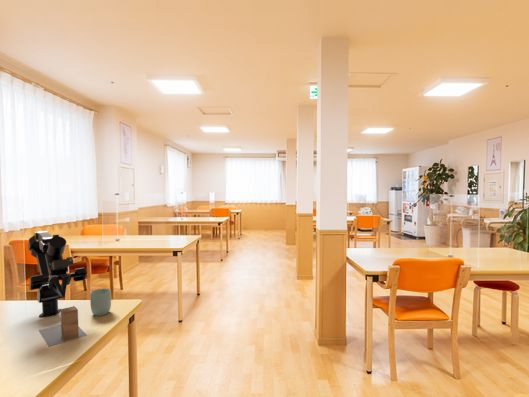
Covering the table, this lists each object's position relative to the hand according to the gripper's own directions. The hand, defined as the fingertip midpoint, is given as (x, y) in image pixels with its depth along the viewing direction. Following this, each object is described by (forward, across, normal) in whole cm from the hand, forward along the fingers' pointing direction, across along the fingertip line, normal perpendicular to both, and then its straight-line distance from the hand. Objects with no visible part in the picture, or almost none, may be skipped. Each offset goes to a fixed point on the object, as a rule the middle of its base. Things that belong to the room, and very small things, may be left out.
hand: (63, 296), depth 125 cm
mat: (+11, -1, +8) cm, 13 cm away
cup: (+4, +15, +15) cm, 22 cm away
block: (+14, 0, +4) cm, 15 cm away
